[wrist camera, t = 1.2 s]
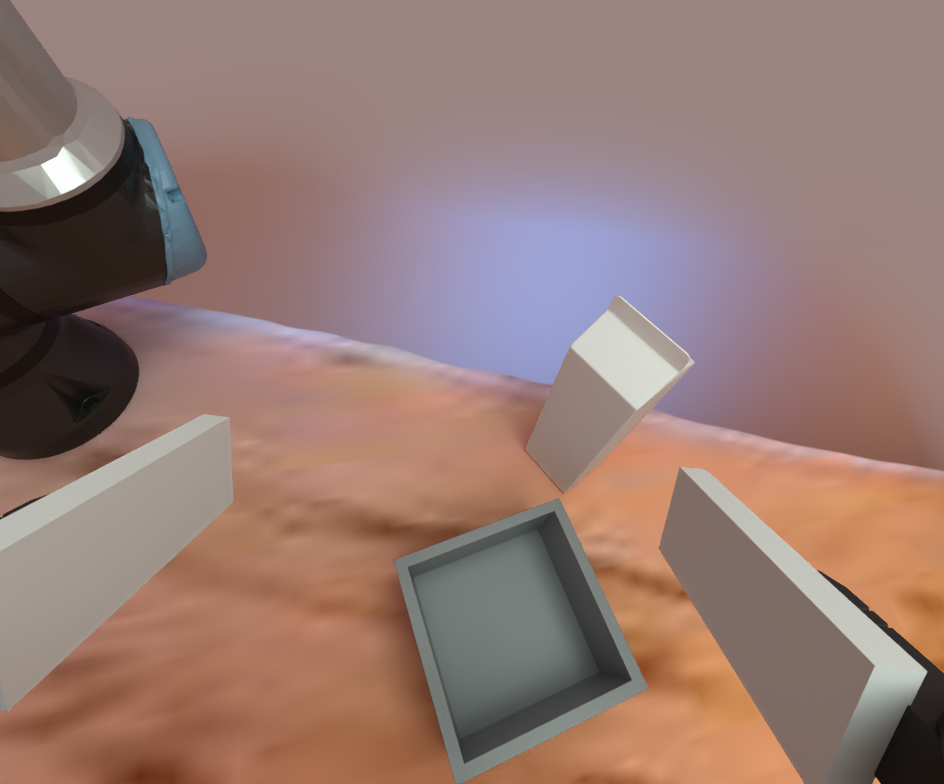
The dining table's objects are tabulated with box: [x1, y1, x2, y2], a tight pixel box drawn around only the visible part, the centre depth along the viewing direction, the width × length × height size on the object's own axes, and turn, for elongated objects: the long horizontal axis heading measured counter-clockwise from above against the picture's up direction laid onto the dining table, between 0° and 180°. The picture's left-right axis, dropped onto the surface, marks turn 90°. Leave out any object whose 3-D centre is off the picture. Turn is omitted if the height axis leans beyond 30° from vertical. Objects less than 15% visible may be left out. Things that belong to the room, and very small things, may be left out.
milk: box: [525, 296, 695, 494], centre depth 36 cm, size 6×6×22 cm
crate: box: [394, 498, 648, 784], centre depth 34 cm, size 14×14×8 cm
